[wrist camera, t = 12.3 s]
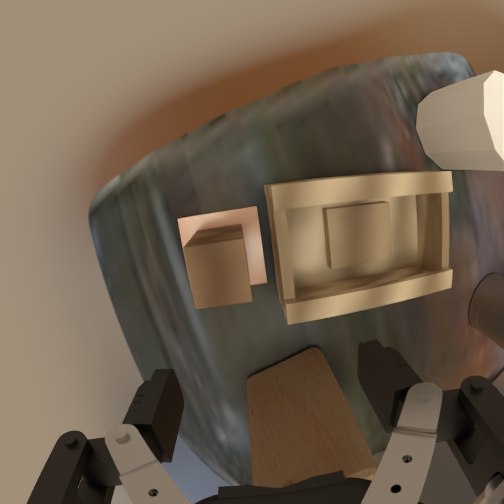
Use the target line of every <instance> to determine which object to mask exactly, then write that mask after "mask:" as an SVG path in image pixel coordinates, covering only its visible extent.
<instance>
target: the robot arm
mask: <svg viewBox="0 0 504 504" xmlns="http://www.w3.org/2000/svg"><path fill="white" fill-rule="evenodd" d="M469 320H470V323H471V325H472V326H473V327H474V328H476V329H477V330H479V331H480V332H481V333H483V334H484V335H485V336H487V337H488V338H489V339H491V340H492V341H493V342H495V343H496V344H497V345H499V346H500V347H501V348H503V349H504V276H502V275H499V274H497V273H493V274H490V275H488V276H487V277H486V278H485V279H484V280H482V282H481V283H480V284H479V286H478V287H477V289H476V291H475V293H474V295H473V297H472V300H471V304H470V308H469ZM358 379H359V382H360V384H361V386H362V388H363V390H364V392H365V394H366V396H367V397H368V399H369V401H370V403H371V405H372V407H373V409H374V411H375V412H376V414H377V416H378V418H379V420H380V422H381V424H382V426H383V428H384V430H385V432H386V433H389V432H392V431H393V433H392V436H391V439H390V441H389V444H388V446H387V449H386V451H385V453H384V456H383V458H382V461H381V463H380V465H379V467H378V469H377V472H376V474H375V476H374V478H373V480H372V481H371V480H367V479H363V478H353V477H345V476H344V473H343V470H341V471H337V472H333V473H328V474H323V475H319V476H313V477H311V478H308V479H305V480H303V481H300V482H298V483H295V484H292V485H289V486H286V487H283V488H273V487H261V486H252V485H244V486H225V487H219V489H218V495H214V496H211V497H208V498H205V499H203V500H200V501H199V502H197V503H195V504H423V503H421V502H418V500H419V497H420V495H421V492H422V489H423V486H424V483H425V479H426V476H427V472H428V469H429V466H430V462H431V458H432V455H433V451H434V447H435V442H441V441H446V442H447V443H448V445H449V447H450V449H451V450H452V452H453V454H454V455H455V457H456V459H457V461H458V463H459V464H460V466H461V468H462V470H463V472H464V473H465V475H466V477H467V479H468V481H469V482H470V485H471V486H472V488H473V490H474V492H475V494H476V496H477V497H476V499H475V501H474V503H473V504H504V396H503V395H502V394H501V393H500V392H499V391H498V390H497V388H496V387H495V386H494V385H493V384H492V383H491V382H490V381H489V380H488V379H486V378H484V377H482V376H470V377H468V378H466V379H465V380H464V381H463V382H462V384H461V387H460V389H454V390H447V391H442V390H441V389H440V388H439V387H438V386H437V385H435V384H432V383H426V382H423V381H422V380H421V379H420V378H419V376H418V375H417V374H416V373H415V371H414V370H413V369H412V368H411V367H410V365H408V363H407V362H406V361H405V359H403V357H402V356H401V355H400V353H399V352H398V351H396V350H394V349H392V348H390V347H386V348H384V347H383V346H382V345H381V344H380V342H379V341H378V340H377V339H373V340H369V341H364V342H360V343H359V349H358ZM183 409H184V399H183V395H182V392H181V389H180V386H179V383H178V380H177V377H176V374H175V372H174V370H173V369H156V370H155V371H154V374H153V376H152V378H151V380H146V381H145V382H144V383H143V384H142V385H141V386H140V387H139V388H138V390H137V392H136V394H135V397H134V398H133V401H132V403H131V405H130V407H129V410H128V412H127V414H126V416H125V419H124V421H123V423H122V424H120V425H117V426H114V427H112V428H111V429H110V430H109V431H108V432H107V433H106V435H105V437H104V438H97V439H89V440H88V439H87V438H86V437H85V435H84V434H83V433H82V432H80V431H70V432H67V433H65V434H63V435H62V436H61V437H60V438H59V439H58V440H57V442H56V444H55V446H54V448H53V450H52V452H51V454H50V456H49V458H48V460H47V462H46V464H45V466H44V468H43V470H42V472H41V474H40V476H39V478H38V480H37V482H36V485H35V487H34V489H33V491H32V493H31V495H30V498H29V500H28V502H27V504H111V500H112V496H113V493H114V489H115V486H116V485H123V486H124V488H125V489H126V491H127V493H128V495H129V497H130V499H131V501H132V502H133V504H191V503H190V502H189V501H188V500H187V498H186V497H185V496H184V494H183V493H182V492H181V491H180V489H179V488H178V487H177V486H176V484H175V483H174V482H173V480H172V479H171V478H170V476H169V475H168V474H167V472H166V471H165V469H164V468H163V466H162V465H161V463H162V462H170V463H171V461H172V457H173V452H174V448H175V444H176V439H177V435H178V430H179V426H180V422H181V418H182V413H183ZM81 478H82V480H81ZM80 481H81V482H80ZM79 484H80V485H79ZM78 486H79V488H78Z"/></svg>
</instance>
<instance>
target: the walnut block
mask: <svg viewBox="0 0 504 504" xmlns="http://www.w3.org/2000/svg"><path fill="white" fill-rule="evenodd" d="M183 249H184V254H185V259H186V264H187V270H188V274H189V279H190V284H191V289H192V294H193V298H194V303H195V307H196V309H201V308H209V307H217V306H224V305H232V304H239V303H246V302H252V294H251V287H250V279H249V271H248V264H247V258H246V251H245V244H244V237H243V230H242V224H236V225H229V226H222V227H216V228H209V229H203V230H197V231H196V232H195V234H194V235H193V236H192V237H191V239H190V240H189V241H188V242H187V244H186V245H185V246H184V247H183Z"/></svg>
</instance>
